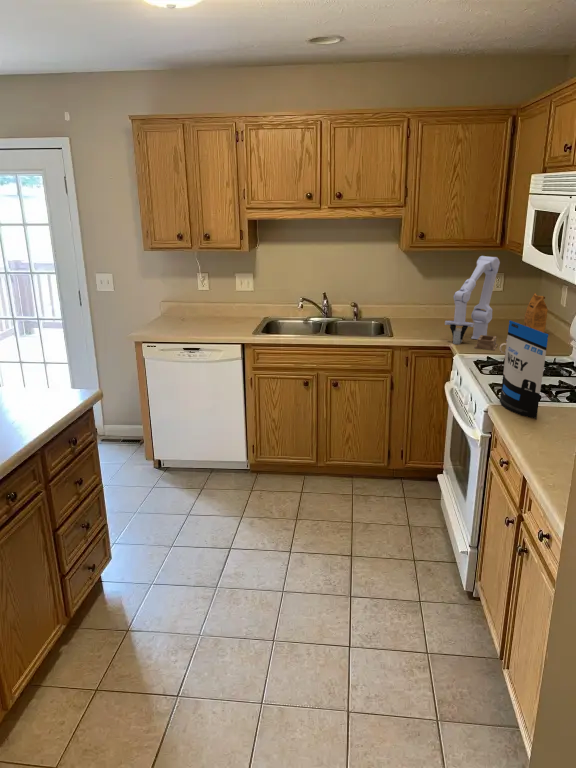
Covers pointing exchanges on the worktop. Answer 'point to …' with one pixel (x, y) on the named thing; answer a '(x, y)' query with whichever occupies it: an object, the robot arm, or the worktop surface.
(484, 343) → the brown rectangular frame
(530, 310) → the coffee package
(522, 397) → the protein powder
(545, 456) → the worktop surface
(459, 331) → the silver metal block
